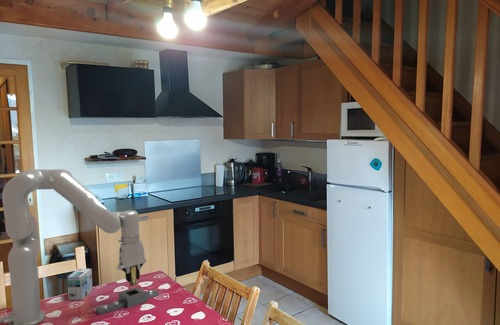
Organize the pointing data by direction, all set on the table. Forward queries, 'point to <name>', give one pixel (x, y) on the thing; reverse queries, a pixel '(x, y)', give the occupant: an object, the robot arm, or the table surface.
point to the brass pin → (133, 276)
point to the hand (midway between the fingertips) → (133, 279)
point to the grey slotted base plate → (128, 299)
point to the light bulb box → (79, 284)
